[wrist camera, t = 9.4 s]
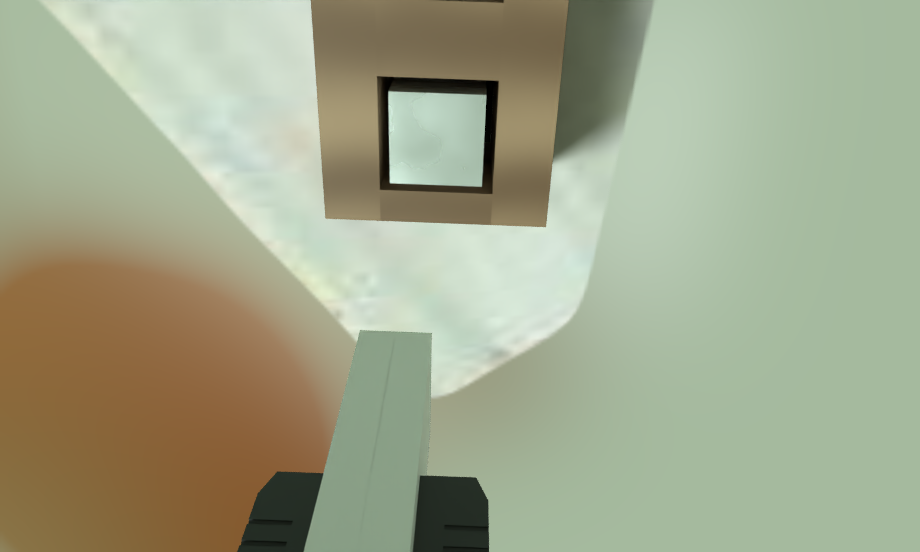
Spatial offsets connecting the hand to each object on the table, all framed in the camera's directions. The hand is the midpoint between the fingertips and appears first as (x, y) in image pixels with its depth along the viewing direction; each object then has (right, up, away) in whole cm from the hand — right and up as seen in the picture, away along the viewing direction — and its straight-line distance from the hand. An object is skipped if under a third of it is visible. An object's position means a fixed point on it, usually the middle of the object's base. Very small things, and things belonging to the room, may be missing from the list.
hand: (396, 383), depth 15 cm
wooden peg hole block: (+1, +15, +19) cm, 24 cm away
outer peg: (+1, +11, +20) cm, 23 cm away
